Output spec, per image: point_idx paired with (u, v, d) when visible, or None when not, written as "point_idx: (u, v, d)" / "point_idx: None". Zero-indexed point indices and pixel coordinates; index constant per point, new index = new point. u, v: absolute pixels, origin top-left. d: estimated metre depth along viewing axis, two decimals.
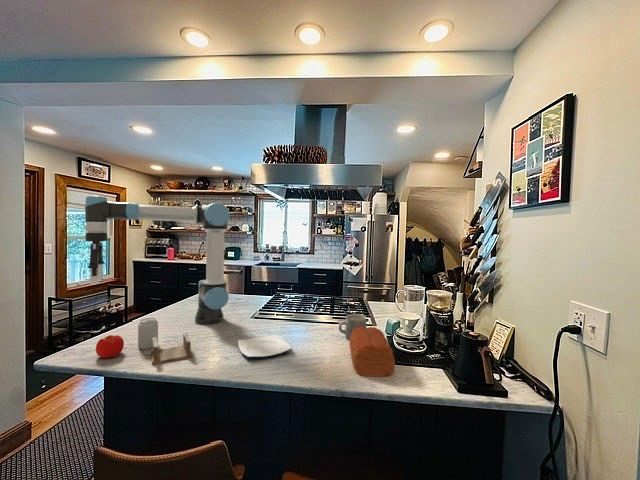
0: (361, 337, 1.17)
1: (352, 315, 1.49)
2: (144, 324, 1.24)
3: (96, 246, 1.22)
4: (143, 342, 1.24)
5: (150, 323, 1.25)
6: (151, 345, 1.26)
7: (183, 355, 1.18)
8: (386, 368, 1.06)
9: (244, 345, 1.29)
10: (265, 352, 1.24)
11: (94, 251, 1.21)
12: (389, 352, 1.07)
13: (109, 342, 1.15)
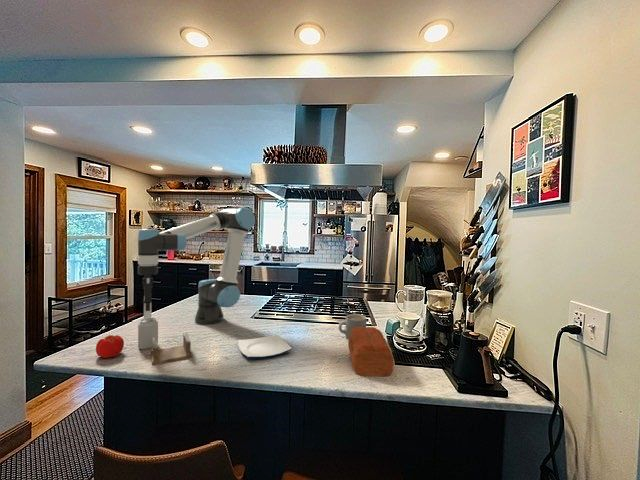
0: (360, 337, 1.17)
1: (352, 315, 1.49)
2: (144, 324, 1.24)
3: (150, 280, 1.21)
4: (143, 342, 1.24)
5: (150, 323, 1.25)
6: (151, 345, 1.26)
7: (183, 355, 1.18)
8: (386, 368, 1.07)
9: (244, 345, 1.29)
10: (265, 352, 1.24)
11: (148, 285, 1.21)
12: (388, 352, 1.08)
13: (109, 342, 1.15)
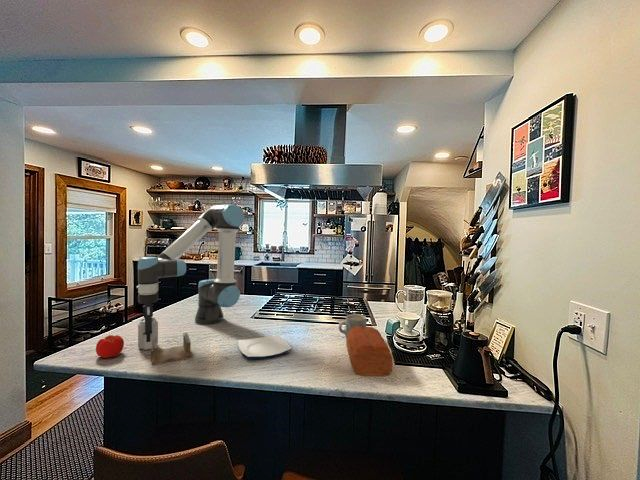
0: (359, 337, 1.18)
1: (352, 315, 1.49)
2: (144, 324, 1.24)
3: (150, 312, 1.22)
4: (143, 342, 1.24)
5: None
6: None
7: (183, 355, 1.18)
8: (385, 367, 1.07)
9: (244, 345, 1.29)
10: (265, 352, 1.24)
11: (148, 317, 1.22)
12: (387, 351, 1.08)
13: (109, 342, 1.15)
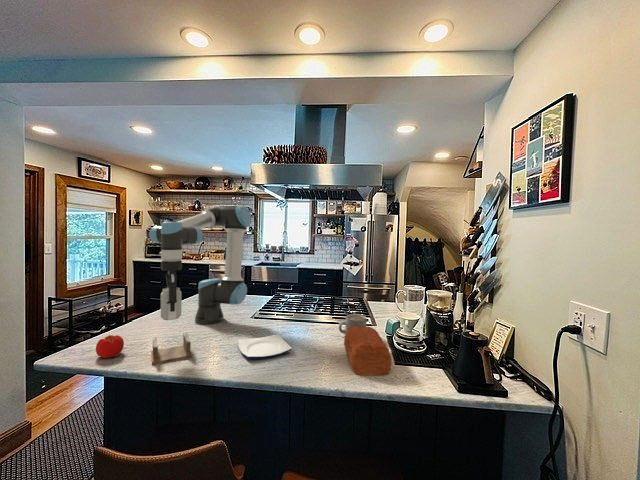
0: (357, 337, 1.18)
1: (352, 315, 1.49)
2: (167, 293, 1.16)
3: (174, 279, 1.14)
4: (166, 312, 1.16)
5: None
6: None
7: (183, 355, 1.18)
8: (384, 367, 1.07)
9: (244, 345, 1.29)
10: (265, 352, 1.24)
11: (173, 285, 1.13)
12: (386, 351, 1.09)
13: (109, 342, 1.15)
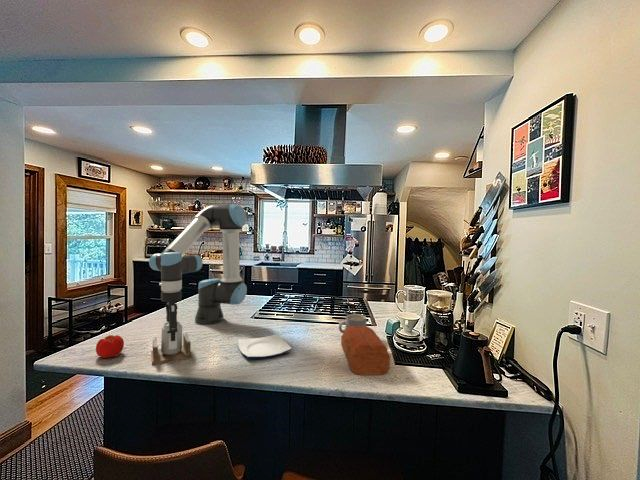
0: (355, 336, 1.18)
1: (352, 315, 1.49)
2: None
3: (174, 308, 1.14)
4: (167, 348, 1.17)
5: None
6: (175, 351, 1.18)
7: (183, 355, 1.18)
8: (383, 366, 1.08)
9: (244, 345, 1.29)
10: (265, 352, 1.24)
11: (173, 314, 1.13)
12: (385, 350, 1.09)
13: (109, 342, 1.15)
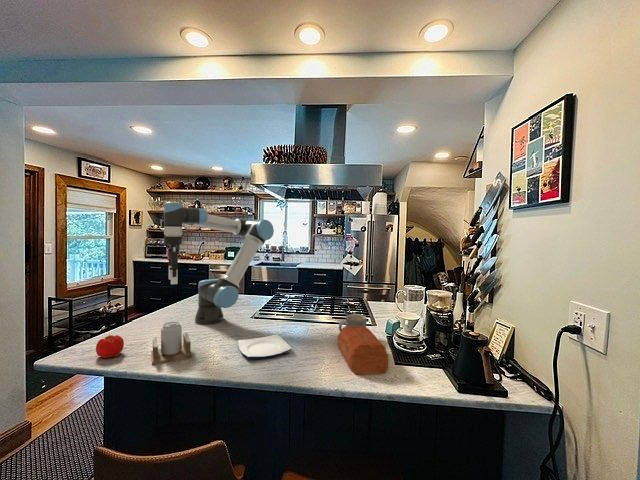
0: (353, 336, 1.18)
1: (352, 315, 1.49)
2: (168, 328, 1.17)
3: (176, 249, 1.31)
4: (167, 348, 1.16)
5: (174, 327, 1.18)
6: (175, 351, 1.18)
7: (183, 355, 1.18)
8: (382, 365, 1.09)
9: (244, 345, 1.29)
10: (265, 352, 1.24)
11: (174, 254, 1.30)
12: (384, 349, 1.10)
13: (109, 342, 1.15)
